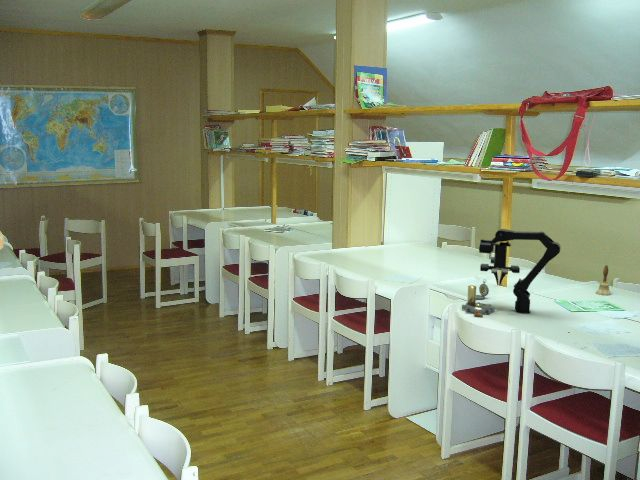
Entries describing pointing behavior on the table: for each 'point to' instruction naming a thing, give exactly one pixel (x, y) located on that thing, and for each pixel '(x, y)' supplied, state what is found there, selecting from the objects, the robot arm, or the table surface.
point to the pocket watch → (482, 289)
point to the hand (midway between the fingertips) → (498, 285)
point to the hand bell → (604, 284)
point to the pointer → (478, 315)
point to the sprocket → (476, 307)
